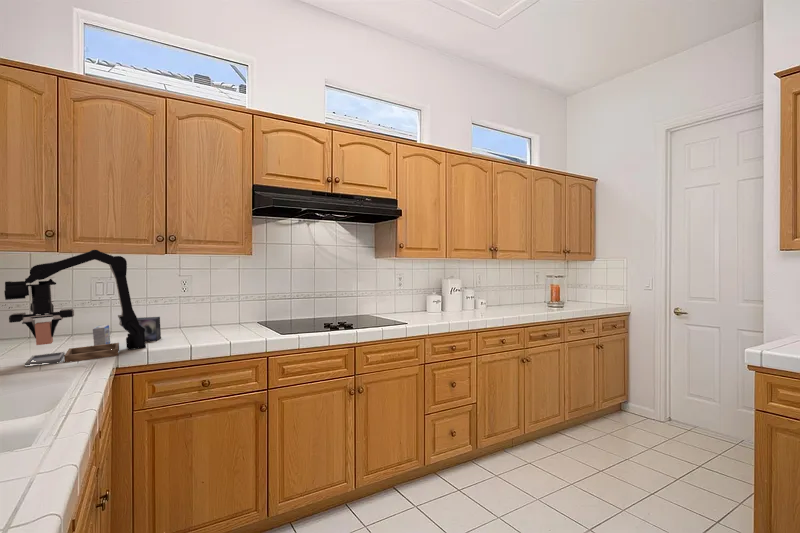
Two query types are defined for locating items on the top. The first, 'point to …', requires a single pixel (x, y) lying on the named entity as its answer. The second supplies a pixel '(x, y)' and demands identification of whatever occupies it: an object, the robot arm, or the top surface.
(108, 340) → the medicine box
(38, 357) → the charcoal tray
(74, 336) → the top surface
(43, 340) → the brick block
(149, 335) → the small box
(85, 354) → the frame
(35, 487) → the top surface
